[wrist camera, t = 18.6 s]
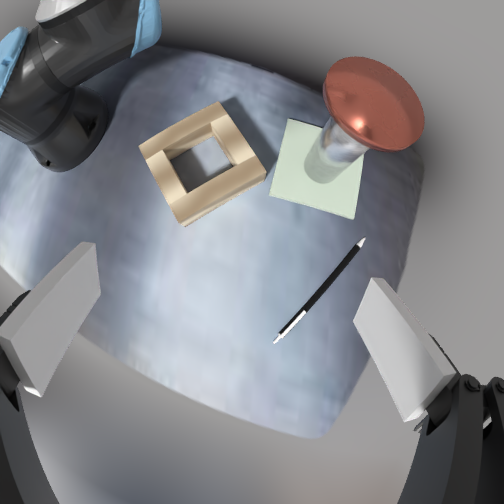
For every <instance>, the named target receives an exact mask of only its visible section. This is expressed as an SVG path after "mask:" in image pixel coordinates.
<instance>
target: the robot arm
mask: <svg viewBox="0 0 504 504" xmlns="http://www.w3.org/2000/svg"><path fill="white" fill-rule="evenodd" d="M35 18H36V20H37V22H38V23H39V25H38V26H36V27H35V28H34V29H32V30H31V31H29V32H28V29H27V28H24V27H18V28H16V29H15V30H13V31H11V32H10V33H9V34H8V35H7V36H6V37H5V38H4V39H3V40H2V41H1V42H0V131H2V132H4V133H6V134H7V135H9V136H11V137H13V138H15V139H17V140H19V141H21V142H22V143H24V144H26V145H27V146H28V148H29V149H30V151H31V152H32V154H33V155H34V157H35V158H36V159H37V161H38V162H39V163H40V164H41V165H42V166H43V167H45V168H47V169H49V170H51V171H54V172H64V171H67V170H70V169H72V168H74V167H76V166H77V165H79V164H80V163H81V162H83V161H84V160H85V159H86V158H87V157H88V156H89V155H90V154H91V153H92V151H93V150H94V149H95V147H96V146H97V145H98V143H99V141H100V140H101V138H102V136H103V134H104V131H105V128H106V125H107V121H108V108H107V105H106V103H105V101H104V100H103V99H102V98H101V96H100V95H99V94H98V93H97V92H95V91H94V90H91V89H89V88H86V87H84V86H81V85H80V84H81V83H83V82H84V81H86V80H88V79H89V78H91V77H93V76H94V75H96V74H98V73H100V72H101V71H103V70H105V69H107V68H109V67H110V66H112V65H114V64H116V63H118V62H120V61H122V60H124V59H126V58H132V57H133V56H134V55H135V54H136V53H138V52H140V51H142V50H144V49H146V48H149V47H151V46H153V45H154V44H155V43H156V42H157V41H158V40H159V38H160V36H161V32H162V20H161V11H160V5H159V0H40V5H39V8H38V11H37V14H36V17H35ZM100 295H101V291H100V284H99V276H98V267H97V257H96V246H95V243H88V242H81V243H80V244H79V245H78V246H76V247H75V248H74V249H73V250H72V251H71V252H70V253H69V254H68V255H67V256H66V257H65V258H63V259H62V260H61V261H60V262H59V263H58V264H57V265H56V266H55V267H54V268H53V269H52V270H51V271H50V272H49V273H48V274H47V275H46V276H45V277H44V278H43V279H42V280H41V281H40V282H39V283H38V284H37V285H36V286H35V287H34V289H33V290H32V291H31V290H28V291H27V292H25V293H23V294H22V295H20V296H19V297H18V298H17V299H16V300H15V301H14V302H13V303H12V306H10V307H9V308H8V309H7V312H4V314H3V315H2V316H1V317H0V504H59V502H58V500H57V498H56V497H55V494H54V492H53V490H52V489H51V486H50V484H49V482H48V480H47V477H46V475H45V473H44V470H43V468H42V465H41V463H40V460H39V458H38V455H37V452H36V450H35V447H34V444H33V441H32V438H31V435H30V431H29V428H28V425H27V421H26V418H25V413H24V410H23V406H22V401H21V396H20V393H19V390H18V388H17V384H18V383H19V381H21V383H22V384H23V386H24V388H25V389H26V390H27V391H29V392H31V393H33V394H35V395H37V396H39V397H42V396H43V394H44V392H45V390H46V388H47V386H48V384H49V382H50V380H51V378H52V376H53V374H54V372H55V370H56V368H57V366H58V364H59V363H60V361H61V359H62V357H63V355H64V353H65V352H66V350H67V348H68V346H69V345H70V343H71V341H72V340H73V338H74V336H75V334H76V333H77V331H78V329H79V328H80V326H81V325H82V323H83V321H84V320H85V318H86V316H87V315H88V313H89V312H90V310H91V309H92V307H93V305H94V304H95V302H96V301H97V299H98V298H99V296H100ZM353 323H354V324H355V326H356V328H357V330H358V332H359V334H360V335H361V337H362V339H363V341H364V343H365V345H366V347H367V348H368V350H369V352H370V354H371V356H372V358H373V360H374V362H375V364H376V366H377V368H378V370H379V372H380V373H381V376H382V377H383V379H384V382H385V383H386V386H387V388H388V390H389V392H390V394H391V396H392V398H393V400H394V402H395V404H396V406H397V408H398V410H399V413H400V415H401V417H402V419H403V421H404V422H406V421H409V420H413V419H416V418H418V417H419V416H420V415H421V414H422V413H423V411H425V409H426V410H427V412H428V415H427V416H426V417H425V418H424V419H423V420H422V421H421V422H420V423H419V424H418V425H417V426H416V427H415V429H414V431H416V430H417V429H418V428H420V427H421V426H422V429H421V430H420V431H419V433H421V434H420V438H419V442H418V446H417V449H416V453H415V456H414V460H413V463H412V466H411V469H410V472H409V475H408V478H407V480H406V483H405V486H404V489H403V491H402V494H401V496H400V499H399V501H398V503H397V504H504V380H503V379H502V378H499V377H494V378H492V380H491V381H490V382H489V383H488V384H487V385H480V383H479V381H478V380H476V379H475V378H474V377H473V376H471V375H468V374H464V375H462V376H461V374H460V373H459V372H458V370H457V369H456V367H455V366H454V364H453V363H452V362H451V360H450V359H449V357H448V356H447V355H446V354H444V351H443V349H442V348H441V347H440V345H439V344H438V343H437V341H436V340H435V339H434V337H432V336H431V335H430V334H429V333H428V332H427V331H426V330H425V329H424V328H423V326H422V325H421V323H420V322H419V321H418V320H417V319H416V317H415V316H414V315H413V313H412V312H411V311H410V310H409V309H408V307H407V306H406V305H405V304H404V302H403V301H402V300H401V299H400V298H399V296H398V295H397V294H396V293H395V292H394V290H393V289H392V288H391V287H390V286H389V285H388V283H387V282H386V281H385V280H384V279H382V278H373V277H371V280H370V282H369V285H368V287H367V290H366V292H365V295H364V297H363V299H362V302H361V304H360V306H359V309H358V311H357V313H356V316H355V318H354V320H353ZM490 416H491V420H492V422H491V423H490V424H489V425H488V426H486V427H485V428H484V429H483V423H484V422H485V421H486V420H487V419H488V418H489V417H490Z"/></svg>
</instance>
